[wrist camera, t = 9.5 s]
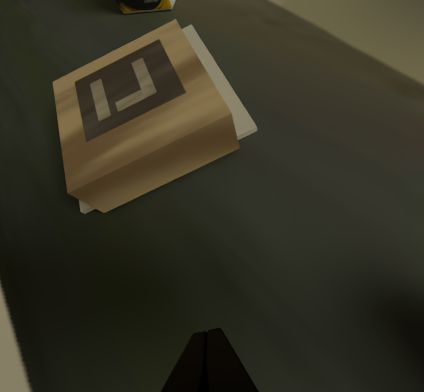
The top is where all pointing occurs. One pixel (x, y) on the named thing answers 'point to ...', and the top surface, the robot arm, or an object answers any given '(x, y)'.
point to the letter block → (139, 119)
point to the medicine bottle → (144, 5)
